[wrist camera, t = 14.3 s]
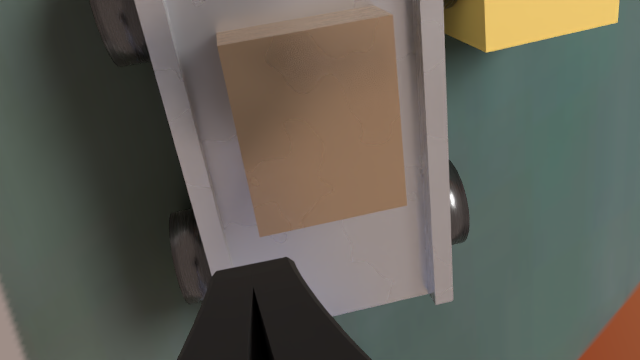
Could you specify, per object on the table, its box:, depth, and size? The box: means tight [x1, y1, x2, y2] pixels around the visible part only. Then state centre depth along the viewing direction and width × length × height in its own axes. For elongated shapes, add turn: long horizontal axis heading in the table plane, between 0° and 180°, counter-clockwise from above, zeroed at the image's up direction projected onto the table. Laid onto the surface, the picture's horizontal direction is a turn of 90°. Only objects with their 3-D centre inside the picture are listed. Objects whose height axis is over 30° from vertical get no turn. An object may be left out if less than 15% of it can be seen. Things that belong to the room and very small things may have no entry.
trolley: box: [89, 0, 469, 316], centre depth 16 cm, size 12×10×6 cm
